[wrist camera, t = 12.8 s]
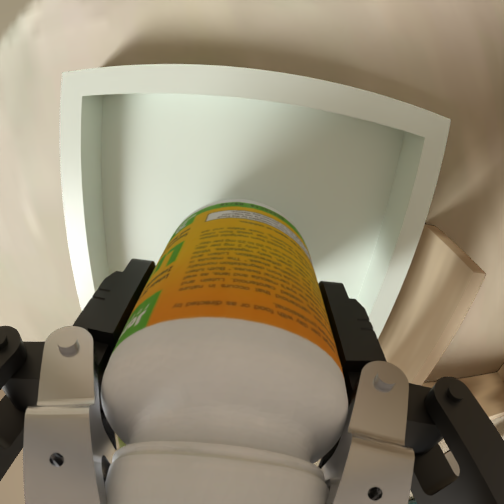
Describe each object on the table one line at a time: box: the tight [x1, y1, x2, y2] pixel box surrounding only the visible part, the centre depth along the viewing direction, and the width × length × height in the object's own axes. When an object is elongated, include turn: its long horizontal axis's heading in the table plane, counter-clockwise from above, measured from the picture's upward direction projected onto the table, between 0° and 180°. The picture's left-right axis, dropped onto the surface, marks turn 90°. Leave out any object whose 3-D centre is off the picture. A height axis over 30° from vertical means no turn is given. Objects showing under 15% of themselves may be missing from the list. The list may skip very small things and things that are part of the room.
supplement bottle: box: [101, 199, 348, 504], centre depth 8 cm, size 5×5×10 cm
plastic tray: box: [60, 64, 451, 338], centre depth 13 cm, size 14×14×2 cm
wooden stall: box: [378, 224, 504, 420], centre depth 15 cm, size 17×13×4 cm
